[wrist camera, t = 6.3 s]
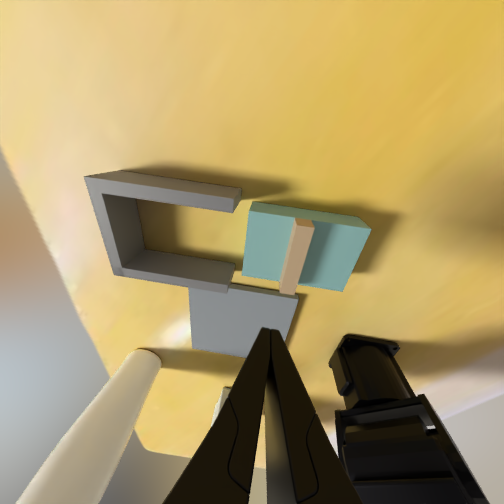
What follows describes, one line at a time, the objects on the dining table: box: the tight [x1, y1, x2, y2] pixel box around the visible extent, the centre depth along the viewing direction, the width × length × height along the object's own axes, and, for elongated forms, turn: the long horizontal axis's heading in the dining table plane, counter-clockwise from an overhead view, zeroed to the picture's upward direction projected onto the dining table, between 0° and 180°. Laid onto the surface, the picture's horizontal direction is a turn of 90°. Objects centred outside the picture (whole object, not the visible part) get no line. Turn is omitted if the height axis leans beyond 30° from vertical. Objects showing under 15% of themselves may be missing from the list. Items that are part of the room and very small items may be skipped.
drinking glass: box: [15, 349, 161, 504], centre depth 24 cm, size 7×7×15 cm
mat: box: [188, 283, 299, 358], centre depth 24 cm, size 12×12×1 cm
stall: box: [84, 170, 242, 294], centre depth 17 cm, size 11×9×4 cm
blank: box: [242, 202, 372, 295], centre depth 16 cm, size 9×6×4 cm, turn 84°
